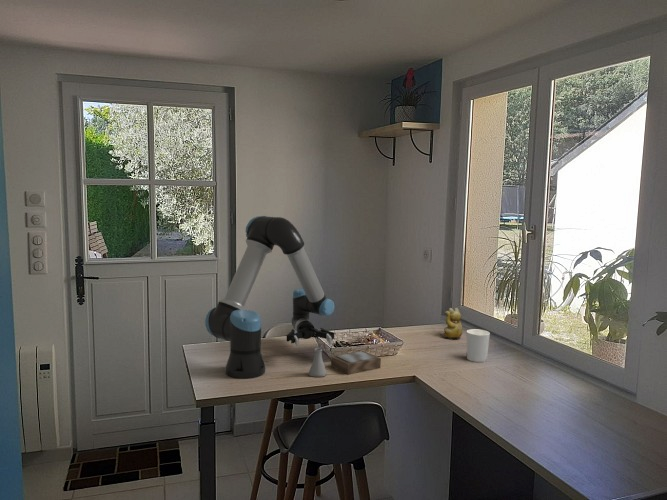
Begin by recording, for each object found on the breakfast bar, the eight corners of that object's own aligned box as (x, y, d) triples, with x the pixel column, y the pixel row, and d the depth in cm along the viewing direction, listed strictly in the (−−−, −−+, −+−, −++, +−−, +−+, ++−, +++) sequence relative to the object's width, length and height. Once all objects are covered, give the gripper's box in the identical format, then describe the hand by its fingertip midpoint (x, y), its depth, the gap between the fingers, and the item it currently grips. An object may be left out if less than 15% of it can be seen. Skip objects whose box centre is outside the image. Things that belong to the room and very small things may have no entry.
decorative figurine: (453, 335, 274) (454, 305, 273) (466, 338, 268) (468, 308, 267) (440, 337, 268) (442, 307, 267) (454, 341, 262) (455, 310, 261)
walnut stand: (347, 374, 210) (348, 363, 210) (330, 366, 220) (331, 355, 220) (380, 368, 219) (380, 357, 219) (362, 360, 229) (363, 350, 228)
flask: (328, 372, 213) (328, 347, 212) (326, 378, 206) (326, 352, 205) (309, 371, 214) (310, 346, 213) (307, 377, 206) (307, 351, 205)
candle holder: (493, 361, 231) (494, 334, 230) (474, 363, 228) (475, 335, 226) (479, 355, 240) (480, 328, 239) (460, 357, 237) (461, 330, 236)
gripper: (332, 335, 242) (344, 349, 222) (276, 338, 237) (283, 353, 216) (332, 318, 241) (344, 331, 221) (276, 321, 236) (283, 334, 215)
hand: (314, 342), depth 218 cm, fingers open, 13 cm apart
